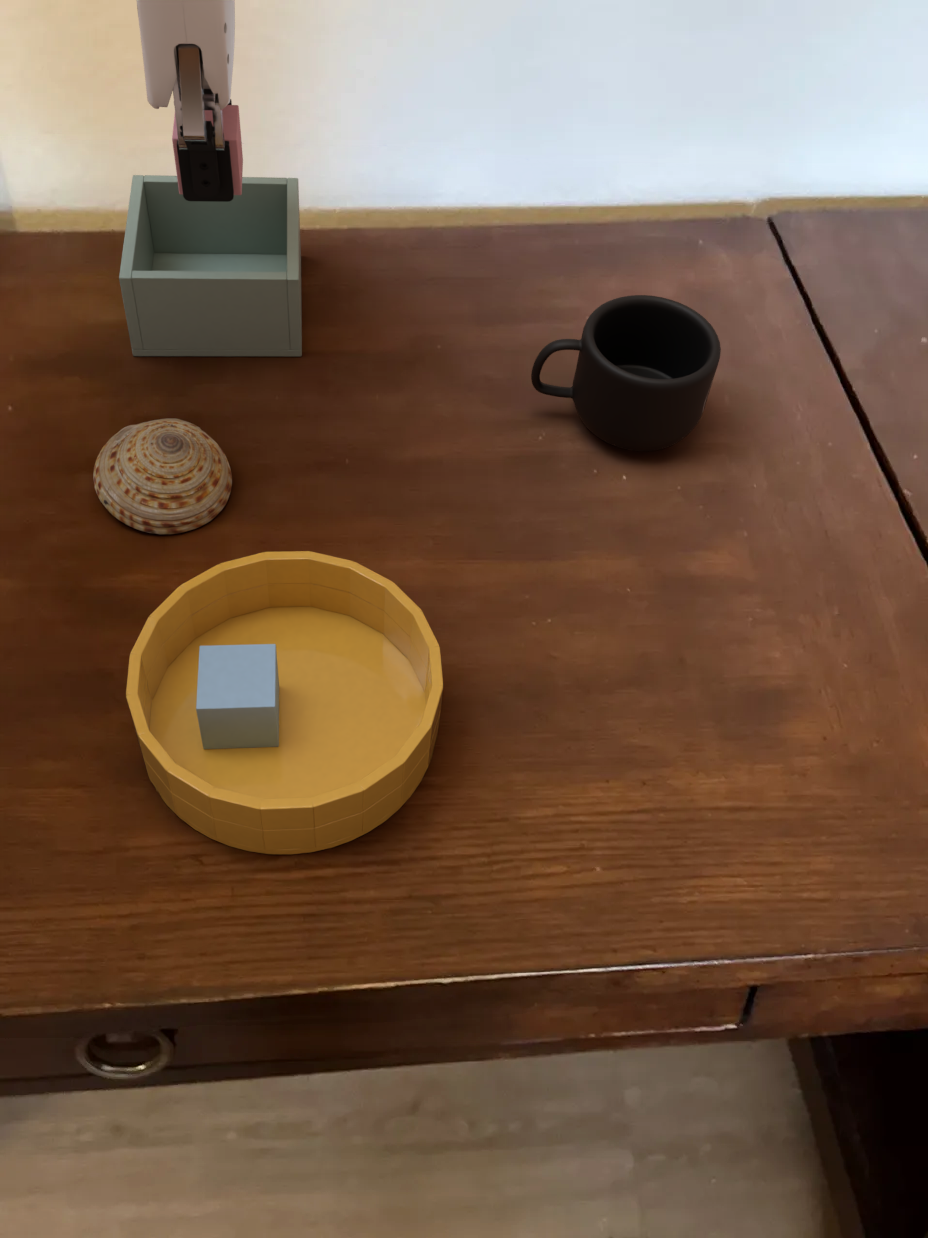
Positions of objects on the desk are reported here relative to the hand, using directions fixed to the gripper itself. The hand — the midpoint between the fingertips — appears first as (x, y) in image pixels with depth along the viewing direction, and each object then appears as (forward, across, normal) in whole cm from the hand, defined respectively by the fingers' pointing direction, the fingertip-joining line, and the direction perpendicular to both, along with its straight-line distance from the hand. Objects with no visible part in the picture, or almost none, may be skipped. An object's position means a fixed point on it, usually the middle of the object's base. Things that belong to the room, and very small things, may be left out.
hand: (210, 174), depth 80 cm
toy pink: (0, 0, 0) cm, 0 cm away
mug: (+11, +12, +27) cm, 31 cm away
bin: (+10, 0, 0) cm, 10 cm away
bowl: (+10, +36, +5) cm, 38 cm away
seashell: (+10, +18, -3) cm, 21 cm away
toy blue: (+9, +36, +2) cm, 37 cm away
